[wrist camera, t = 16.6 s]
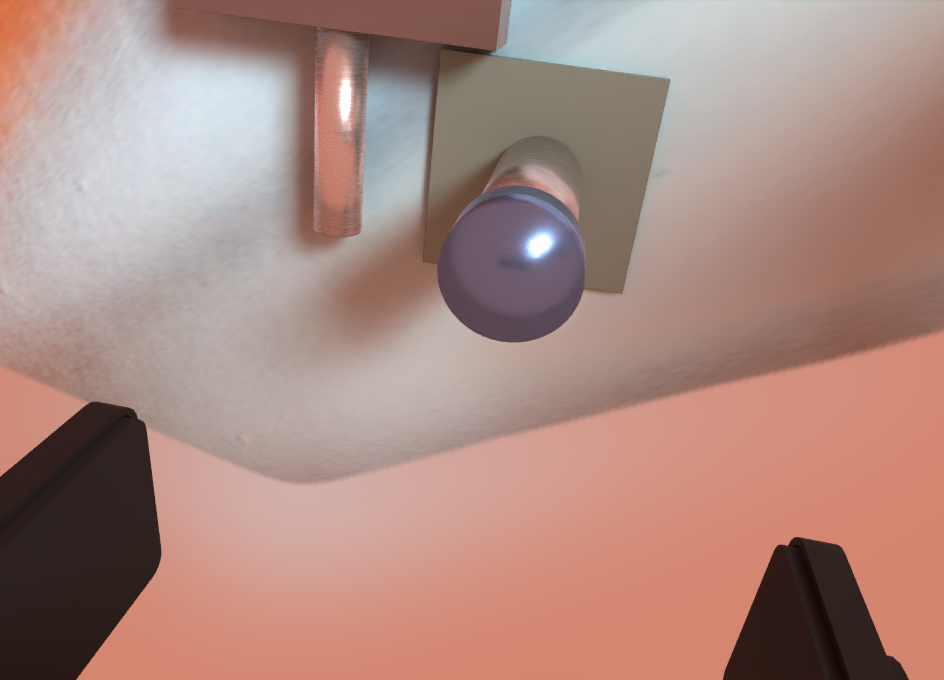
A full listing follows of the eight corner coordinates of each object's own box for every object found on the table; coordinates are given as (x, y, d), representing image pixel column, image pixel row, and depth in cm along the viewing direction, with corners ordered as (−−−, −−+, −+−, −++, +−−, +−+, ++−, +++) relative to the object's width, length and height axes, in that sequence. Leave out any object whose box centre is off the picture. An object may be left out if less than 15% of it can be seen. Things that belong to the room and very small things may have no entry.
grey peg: (494, 121, 30) (444, 193, 20) (597, 136, 29) (597, 216, 20) (482, 219, 32) (431, 329, 22) (579, 235, 31) (570, 353, 21)
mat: (669, 79, 28) (670, 80, 28) (621, 290, 32) (622, 293, 32) (442, 48, 29) (440, 49, 29) (424, 258, 33) (422, 261, 33)
